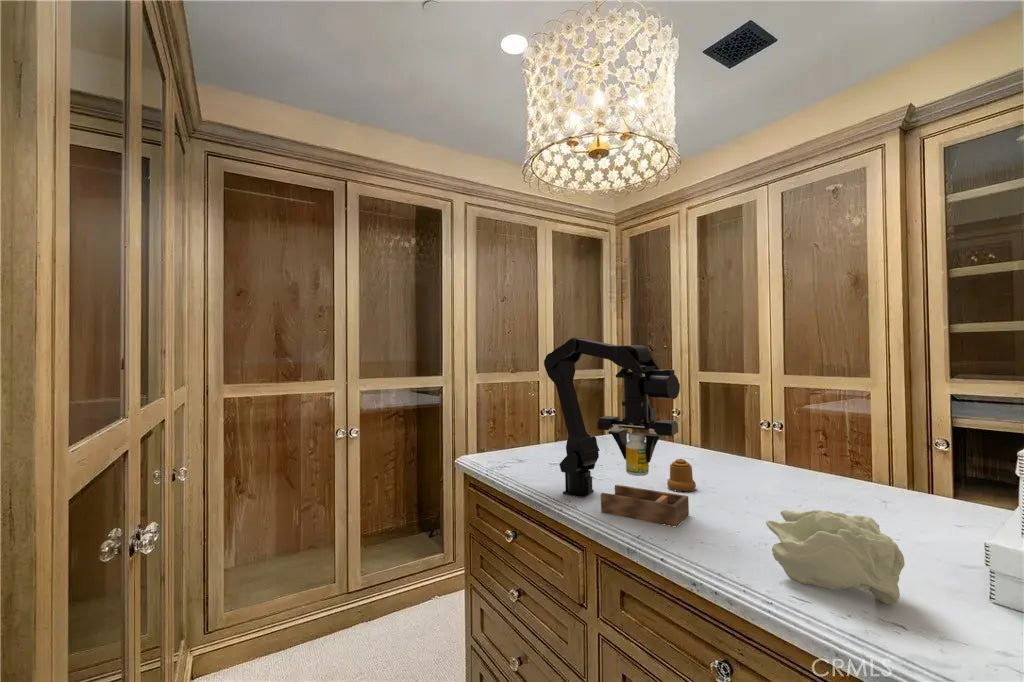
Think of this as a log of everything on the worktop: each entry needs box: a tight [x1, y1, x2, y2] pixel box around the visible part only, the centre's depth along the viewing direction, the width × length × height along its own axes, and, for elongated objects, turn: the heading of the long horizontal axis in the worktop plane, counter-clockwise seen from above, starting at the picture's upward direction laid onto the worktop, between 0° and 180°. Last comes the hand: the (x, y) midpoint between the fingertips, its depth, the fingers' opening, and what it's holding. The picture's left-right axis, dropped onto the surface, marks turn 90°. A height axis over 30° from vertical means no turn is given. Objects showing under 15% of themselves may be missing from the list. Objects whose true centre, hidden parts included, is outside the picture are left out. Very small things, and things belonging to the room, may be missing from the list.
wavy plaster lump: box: [765, 509, 906, 605], centre depth 77 cm, size 18×13×16 cm
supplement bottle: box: [625, 432, 650, 477], centre depth 117 cm, size 5×5×10 cm
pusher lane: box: [600, 484, 690, 528], centre depth 113 cm, size 18×9×4 cm, turn 53°
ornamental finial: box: [666, 458, 697, 492], centre depth 133 cm, size 8×8×8 cm
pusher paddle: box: [655, 495, 668, 504], centre depth 111 cm, size 1×6×3 cm, turn 144°
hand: (637, 460), depth 117 cm, fingers closed on supplement bottle, 5 cm apart
